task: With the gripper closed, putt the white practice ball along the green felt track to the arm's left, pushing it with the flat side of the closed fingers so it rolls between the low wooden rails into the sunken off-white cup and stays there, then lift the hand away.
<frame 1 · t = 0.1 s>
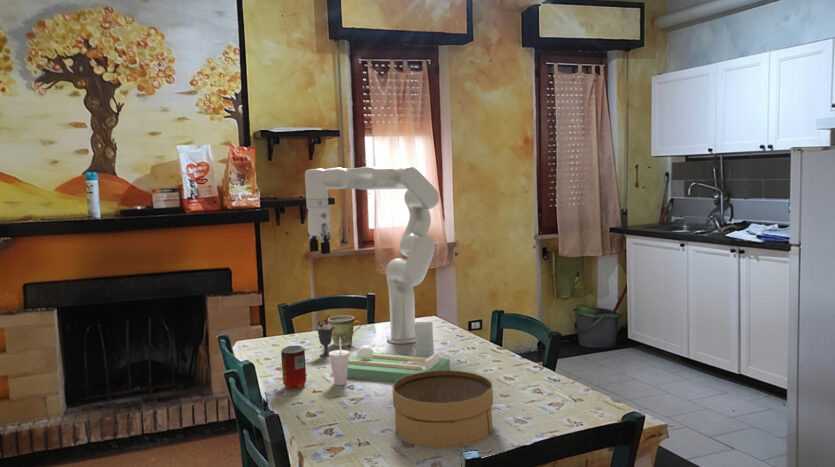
hand: (319, 252, 227), 37 cm above the table, tool pointing down, fingers open, 9 cm apart
green: (393, 371, 207), on the table
ball: (365, 353, 211), point 5 cm above the table, touching green
ceramic cup: (346, 344, 245), on the table
skincare box: (425, 357, 223), on the table
soda can: (295, 387, 196), on the table
smoothie: (340, 383, 198), on the table
sundae: (326, 356, 230), on the table
steamer basket: (444, 428, 160), on the table
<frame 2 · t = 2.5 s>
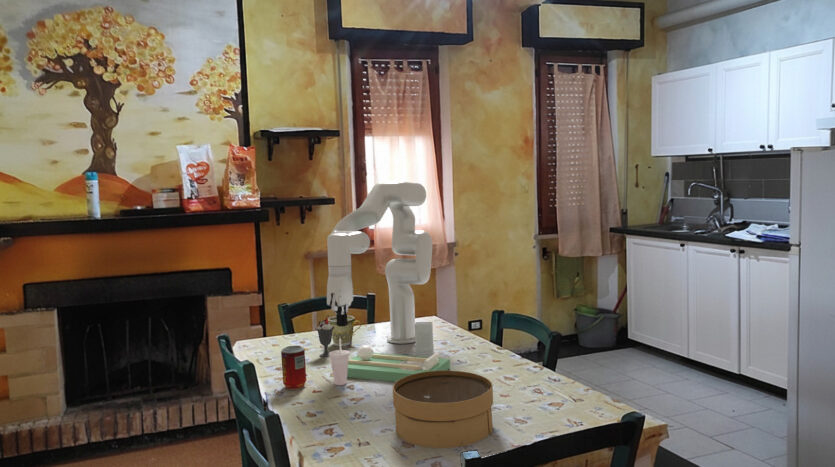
hand: (342, 325, 213), 14 cm above the table, tool pointing down, fingers closed
nothing on the table moved.
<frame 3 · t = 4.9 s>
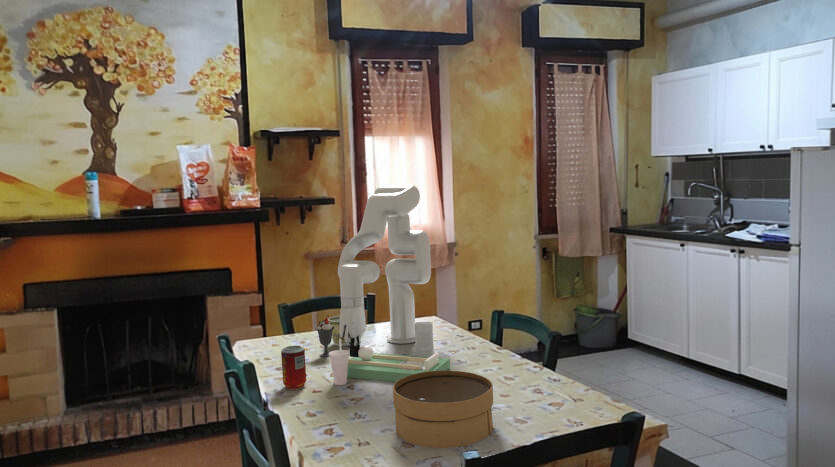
hand: (355, 356, 212), 4 cm above the table, tool pointing down, fingers closed
ball: (365, 353, 211), point 5 cm above the table, touching green, gripper
everything else where it was.
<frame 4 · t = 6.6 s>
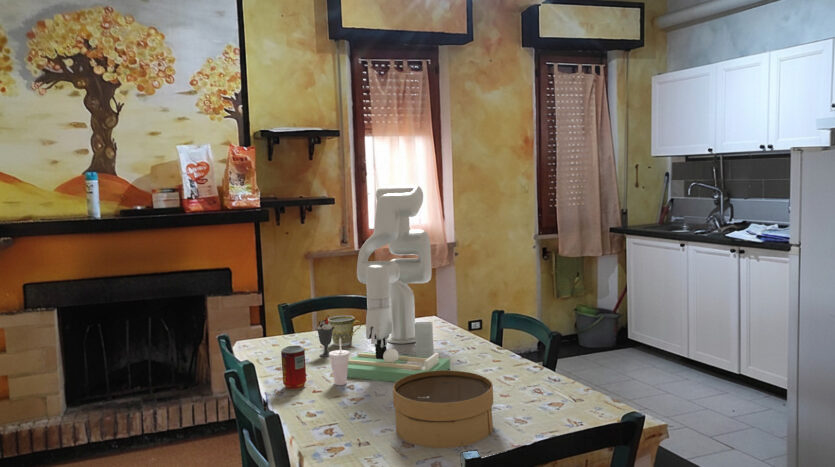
hand: (381, 358, 209), 4 cm above the table, tool pointing down, fingers closed
ball: (390, 356, 206), point 5 cm above the table, tilted 134°, touching green
everything else where it was.
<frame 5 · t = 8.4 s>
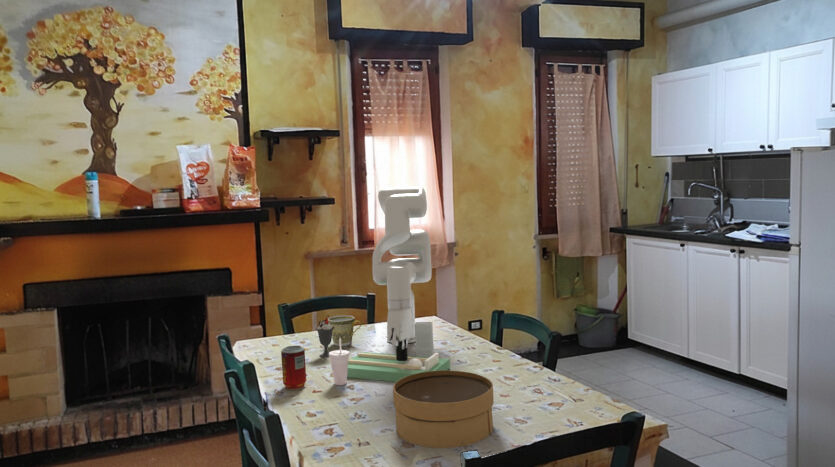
hand: (402, 360, 206), 4 cm above the table, tool pointing down, fingers closed
ball: (414, 366, 204), point 2 cm above the table, tilted 83°
everything else where it was.
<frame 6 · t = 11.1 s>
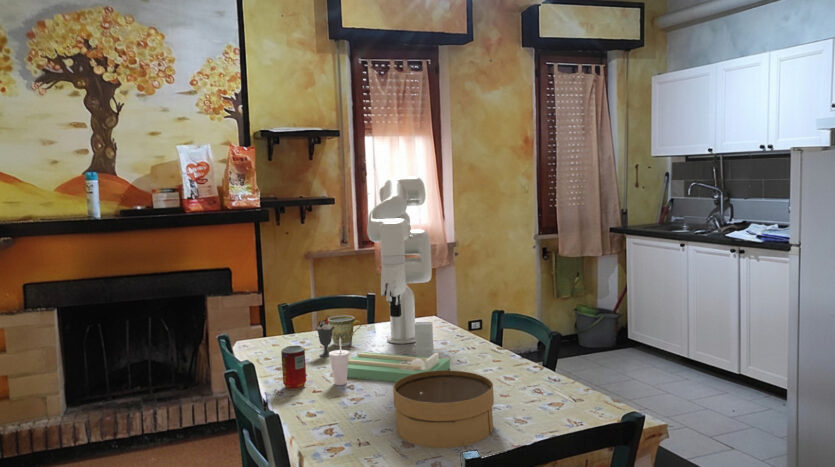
hand: (395, 316, 207), 18 cm above the table, tool pointing down, fingers closed
ball: (417, 366, 204), point 2 cm above the table, tilted 103°
everything else where it was.
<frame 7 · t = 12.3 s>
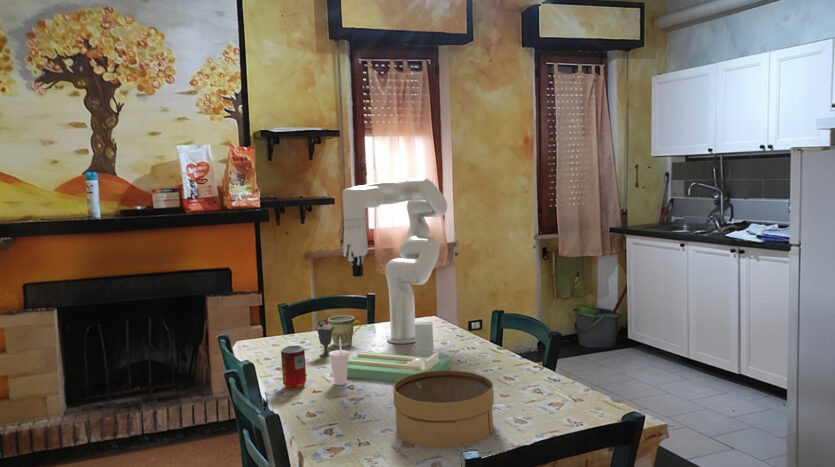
hand: (358, 276, 224), 29 cm above the table, tool pointing down, fingers closed
nothing on the table moved.
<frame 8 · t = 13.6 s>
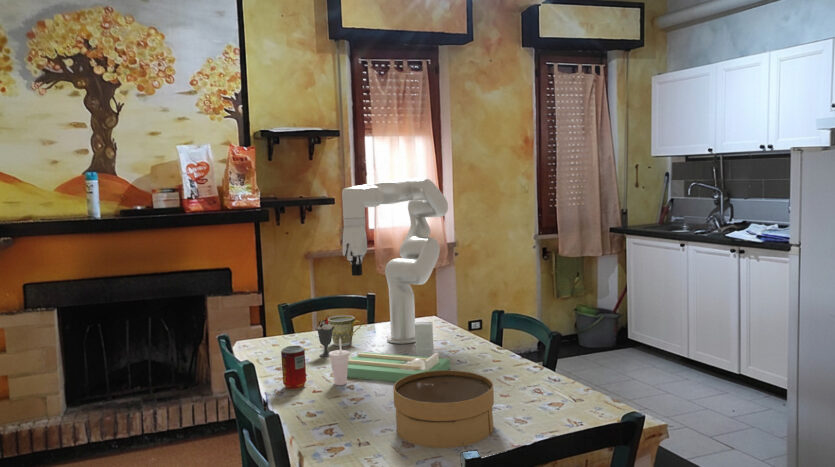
hand: (357, 275, 224), 29 cm above the table, tool pointing down, fingers closed
nothing on the table moved.
at the end: ball 0.5 cm from the target spot in the green, point 2.5 cm above the green's base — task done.
